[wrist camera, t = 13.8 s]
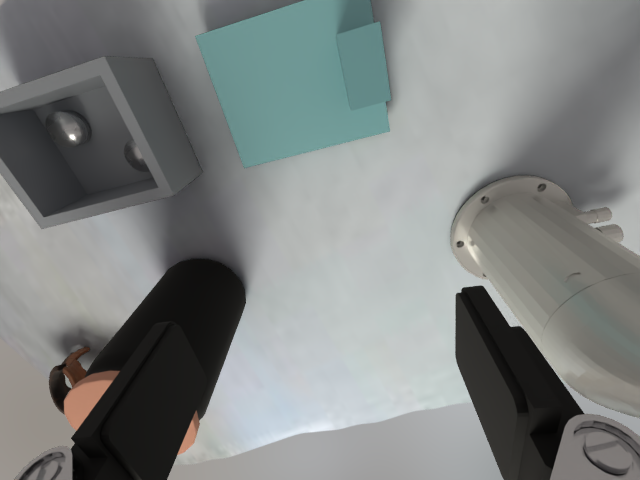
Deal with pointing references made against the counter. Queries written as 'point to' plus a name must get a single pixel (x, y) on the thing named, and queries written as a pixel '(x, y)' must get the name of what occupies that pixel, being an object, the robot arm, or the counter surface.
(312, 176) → the counter surface
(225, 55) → the teal platform with post
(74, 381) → the brown looped piece
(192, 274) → the coffee jar
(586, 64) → the counter surface
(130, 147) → the grey half disc
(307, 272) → the counter surface
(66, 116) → the glossy grey dome
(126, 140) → the tub
